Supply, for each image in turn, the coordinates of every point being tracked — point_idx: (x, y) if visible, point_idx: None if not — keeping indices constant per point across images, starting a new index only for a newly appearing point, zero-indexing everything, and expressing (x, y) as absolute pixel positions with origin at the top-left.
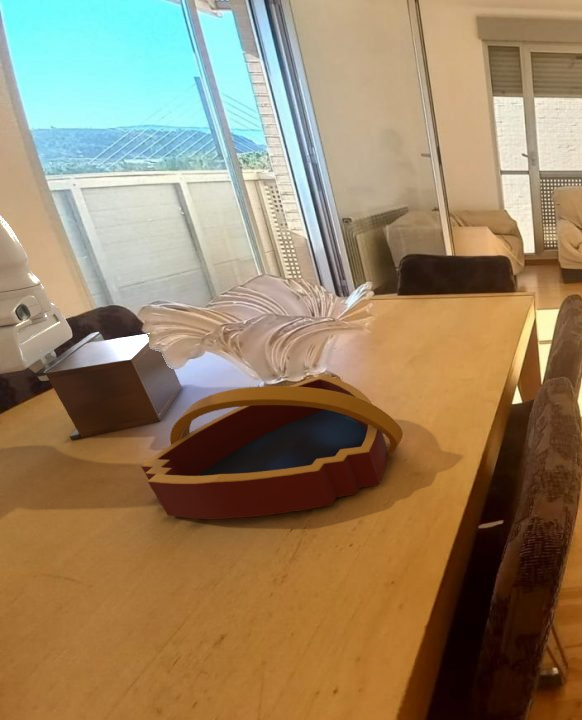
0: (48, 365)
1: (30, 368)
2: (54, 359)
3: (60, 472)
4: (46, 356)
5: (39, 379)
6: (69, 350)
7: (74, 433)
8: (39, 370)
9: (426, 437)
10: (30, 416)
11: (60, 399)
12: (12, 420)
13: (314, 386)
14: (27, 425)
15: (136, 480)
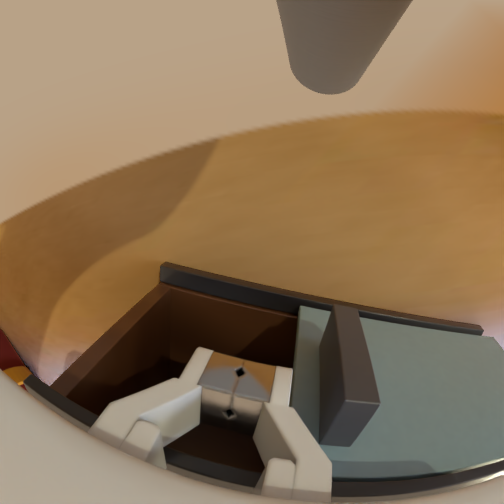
0: None
1: (133, 396)
2: (209, 477)
3: (50, 257)
4: (256, 486)
5: (197, 348)
6: (369, 500)
7: (171, 273)
8: (51, 403)
9: None
10: (457, 150)
11: (98, 339)
12: (457, 114)
13: None
14: (386, 146)
15: (20, 323)
